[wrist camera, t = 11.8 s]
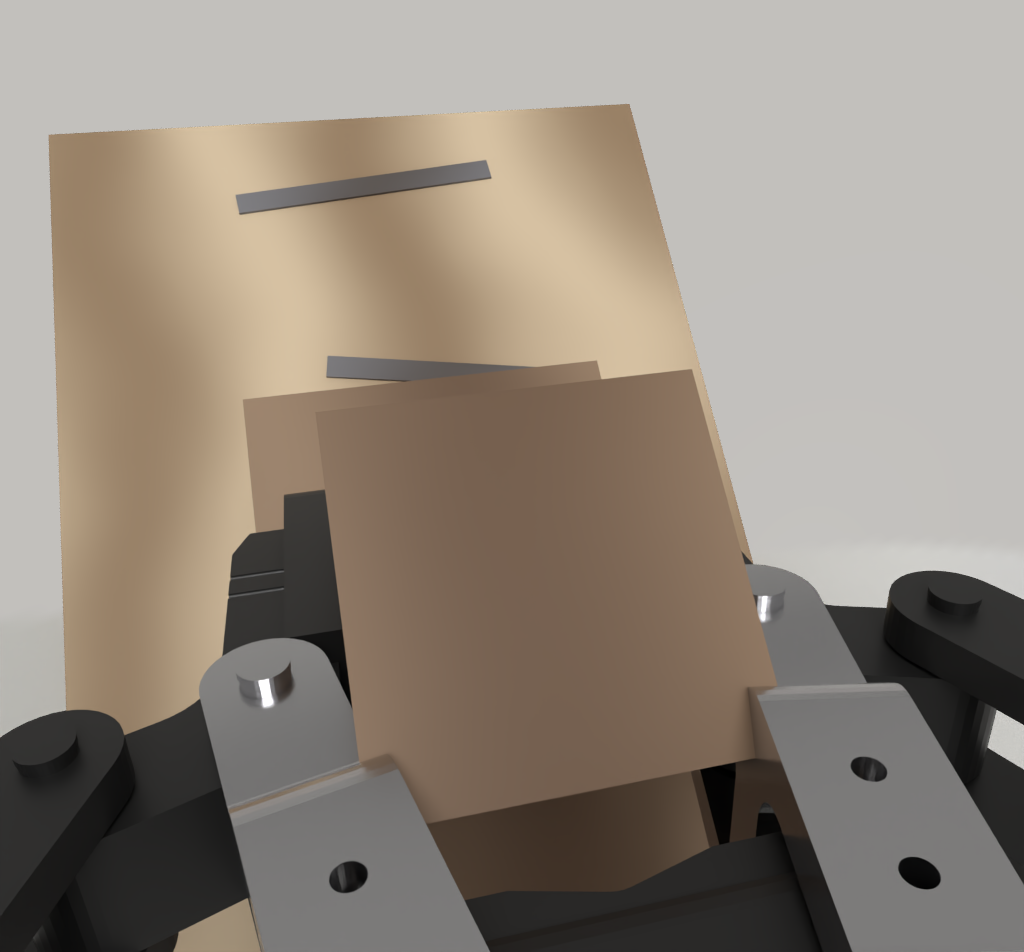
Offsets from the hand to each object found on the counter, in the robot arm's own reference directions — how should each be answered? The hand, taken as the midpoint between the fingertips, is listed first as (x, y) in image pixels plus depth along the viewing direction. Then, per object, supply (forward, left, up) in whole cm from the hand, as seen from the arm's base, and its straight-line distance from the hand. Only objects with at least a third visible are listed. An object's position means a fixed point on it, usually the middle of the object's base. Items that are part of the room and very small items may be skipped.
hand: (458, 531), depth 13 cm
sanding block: (0, -2, -5) cm, 5 cm away
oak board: (0, +2, -7) cm, 7 cm away
